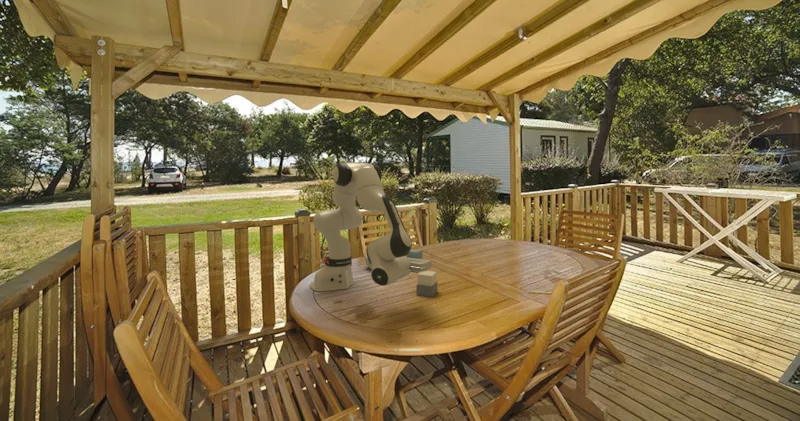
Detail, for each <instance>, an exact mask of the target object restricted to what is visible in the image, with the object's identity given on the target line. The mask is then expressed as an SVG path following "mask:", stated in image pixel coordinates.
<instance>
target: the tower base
mask: <svg viewBox="0 0 800 421" xmlns="http://www.w3.org/2000/svg"><path fill="white" fill-rule="evenodd" d="M415 288H416V289H415V290H416V291H415V292H416V296H421V297H431V298H433V297H434V296H435V295H436V294H437V292H438V281H437V282H436V283H435V284H434V285H433V286H425V285H418V283H417V284H416V286H415Z"/></svg>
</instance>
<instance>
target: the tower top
mask: <svg viewBox="0 0 800 421" xmlns="http://www.w3.org/2000/svg"><path fill="white" fill-rule="evenodd" d="M437 276H438V274H437V271H431V270H427V271H424V272H418V273H417V284H418V285H425V286H433V285H434V284H435V283H436V282H437V283H438V281H437V280H438V279H437V278H438V277H437Z"/></svg>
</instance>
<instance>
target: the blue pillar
mask: <svg viewBox="0 0 800 421" xmlns="http://www.w3.org/2000/svg"><path fill="white" fill-rule="evenodd" d="M406 257H408V258H417V259H419V258H423V249H418V248H417V249H416V248H411V250H410V252H409V254H408V255H406ZM410 273H415V274H419V272H417V271H411V272H410Z"/></svg>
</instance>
